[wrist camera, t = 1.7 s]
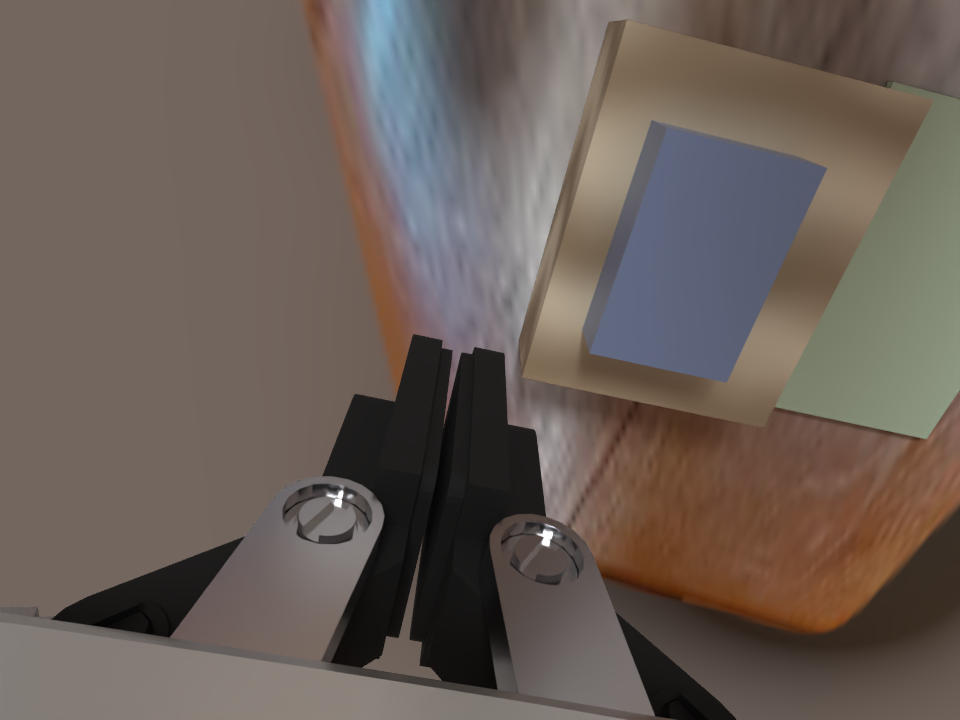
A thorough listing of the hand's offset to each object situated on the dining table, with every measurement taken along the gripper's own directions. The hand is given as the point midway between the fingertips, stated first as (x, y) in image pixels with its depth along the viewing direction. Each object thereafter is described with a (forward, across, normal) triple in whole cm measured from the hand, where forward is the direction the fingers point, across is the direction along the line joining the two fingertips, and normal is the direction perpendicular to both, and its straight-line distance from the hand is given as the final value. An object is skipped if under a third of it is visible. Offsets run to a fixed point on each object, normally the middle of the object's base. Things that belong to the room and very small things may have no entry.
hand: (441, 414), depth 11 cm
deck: (+20, -10, 0) cm, 22 cm away
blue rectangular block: (+15, -9, 0) cm, 17 cm away
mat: (+20, -22, 0) cm, 30 cm away
